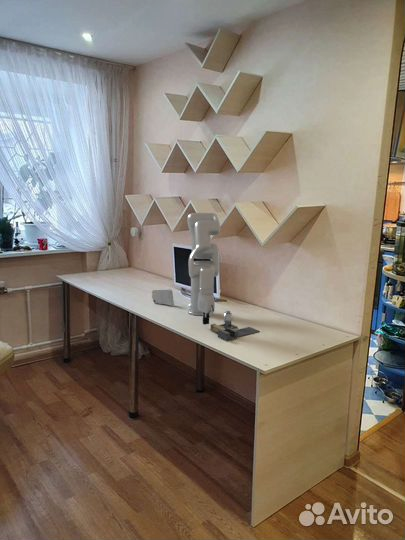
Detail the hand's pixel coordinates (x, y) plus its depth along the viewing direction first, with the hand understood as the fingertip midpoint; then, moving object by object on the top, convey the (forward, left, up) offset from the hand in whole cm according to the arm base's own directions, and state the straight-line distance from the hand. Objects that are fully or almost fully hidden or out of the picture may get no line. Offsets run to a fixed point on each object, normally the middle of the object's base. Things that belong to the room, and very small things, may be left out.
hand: (205, 323), depth 220 cm
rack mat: (+17, +13, -2) cm, 21 cm away
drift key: (+11, 0, -1) cm, 11 cm away
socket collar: (+6, +11, -2) cm, 12 cm away
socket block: (+18, 0, -2) cm, 18 cm away
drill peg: (+6, +11, -2) cm, 12 cm away
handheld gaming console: (-53, +5, -3) cm, 53 cm away
